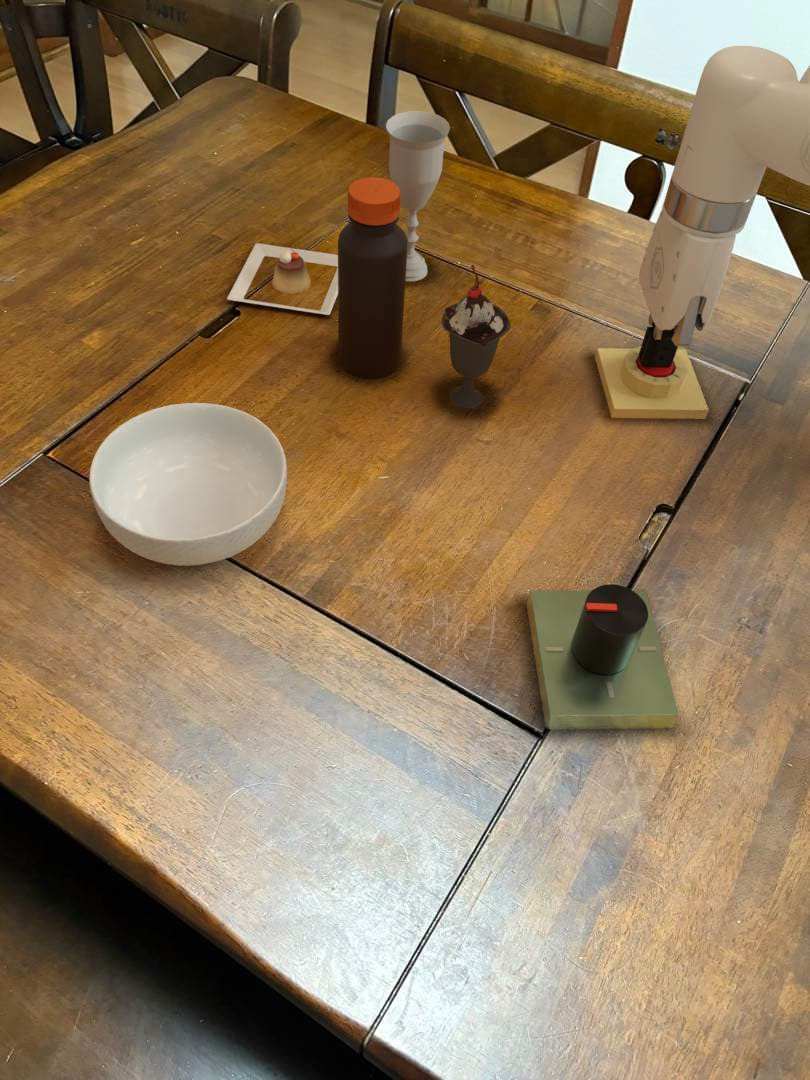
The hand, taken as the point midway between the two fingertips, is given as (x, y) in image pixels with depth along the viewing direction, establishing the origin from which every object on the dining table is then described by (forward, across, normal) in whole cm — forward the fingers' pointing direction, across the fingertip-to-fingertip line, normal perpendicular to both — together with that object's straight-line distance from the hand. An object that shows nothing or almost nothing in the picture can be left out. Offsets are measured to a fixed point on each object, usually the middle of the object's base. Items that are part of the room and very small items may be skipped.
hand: (654, 362), depth 96 cm
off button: (+2, 0, 0) cm, 2 cm away
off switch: (+4, 0, 0) cm, 4 cm away
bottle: (+4, -4, -30) cm, 30 cm away
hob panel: (+4, +35, -12) cm, 37 cm away
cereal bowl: (+4, +19, -46) cm, 50 cm away
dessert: (+4, -18, -39) cm, 43 cm away
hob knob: (+1, +35, -12) cm, 37 cm away
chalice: (+4, -21, -25) cm, 33 cm away
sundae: (+4, +2, -20) cm, 20 cm away
